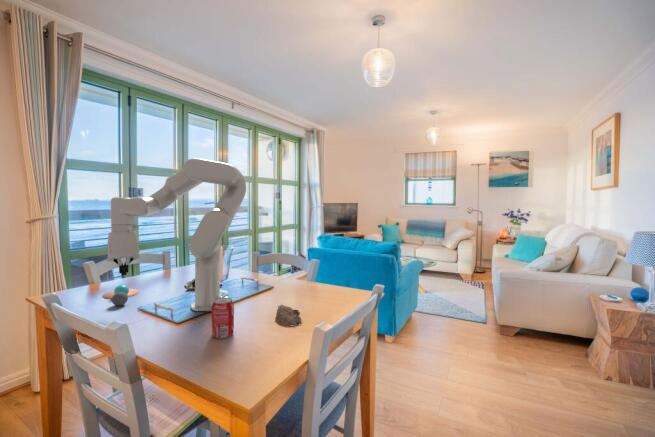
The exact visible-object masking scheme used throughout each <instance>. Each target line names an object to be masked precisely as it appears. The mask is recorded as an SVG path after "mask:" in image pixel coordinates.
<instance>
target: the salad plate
mask: <svg viewBox="0 0 655 437" xmlns="http://www.w3.org/2000/svg"><path fill="white" fill-rule="evenodd" d="M222 285H223V283H222V284H220V287H221V286H222ZM184 286H185V289H186V290H188V291H193V292H195V277H194V278H192V280H191V281H186V282H185V283H184Z"/></svg>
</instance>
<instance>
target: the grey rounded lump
mask: <svg viewBox="0 0 655 437" xmlns="http://www.w3.org/2000/svg"><path fill="white" fill-rule="evenodd" d="M128 300H129V297H128V296H127V294H126V293H124V292H118V293H116V294H115V295H114V296H113V297H112V299H111V302H112V304H113V305H114V306H116V307H117V306H118V307H121V306H124V305H125V304H127V302H128Z"/></svg>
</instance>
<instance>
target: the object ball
mask: <svg viewBox="0 0 655 437" xmlns="http://www.w3.org/2000/svg"><path fill="white" fill-rule="evenodd" d="M129 289H130V288H129V286H128V285H126V284H119V285H117V286H116V287H115V288H114V290H113V291H114V294H116V293H118V292H124V293H126V294H128V293H129Z"/></svg>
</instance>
